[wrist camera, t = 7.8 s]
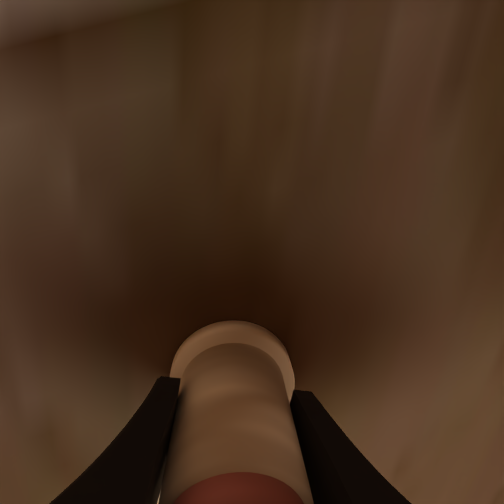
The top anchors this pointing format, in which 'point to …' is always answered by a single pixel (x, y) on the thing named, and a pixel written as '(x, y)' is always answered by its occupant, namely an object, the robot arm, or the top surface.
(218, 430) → the pawn
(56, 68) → the top surface
